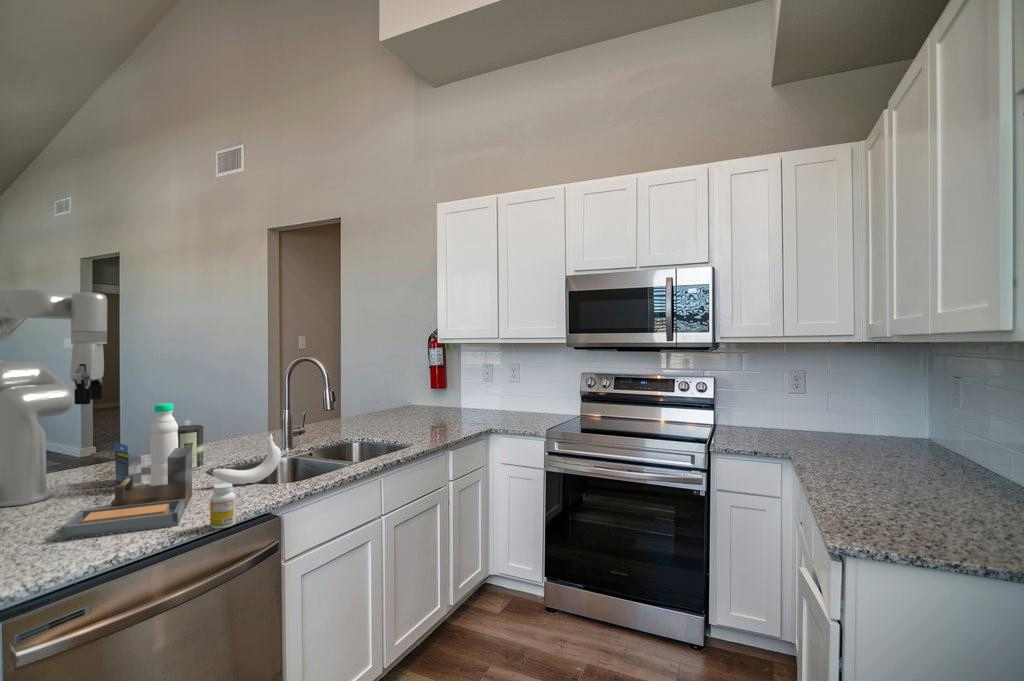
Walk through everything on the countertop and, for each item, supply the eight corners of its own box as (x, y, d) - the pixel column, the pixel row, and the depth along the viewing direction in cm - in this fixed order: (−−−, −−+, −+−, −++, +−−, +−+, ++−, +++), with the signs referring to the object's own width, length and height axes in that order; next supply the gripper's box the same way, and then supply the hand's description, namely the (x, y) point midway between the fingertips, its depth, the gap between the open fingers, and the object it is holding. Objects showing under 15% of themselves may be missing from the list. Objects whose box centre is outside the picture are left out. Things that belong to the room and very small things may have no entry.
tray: (61, 540, 115) (61, 527, 115) (79, 522, 126) (79, 510, 126) (177, 525, 124) (177, 513, 124) (185, 509, 135) (185, 498, 135)
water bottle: (164, 489, 153) (163, 405, 152) (144, 488, 154) (144, 404, 154) (184, 482, 160) (183, 402, 159) (164, 481, 161) (164, 401, 161)
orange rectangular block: (82, 529, 119) (82, 520, 119) (90, 520, 125) (90, 512, 125) (164, 519, 126) (164, 511, 126) (169, 511, 131) (169, 503, 131)
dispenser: (111, 517, 129) (110, 462, 129) (123, 503, 140) (123, 452, 140) (185, 508, 136) (185, 456, 136) (192, 495, 147) (191, 446, 147)
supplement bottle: (217, 521, 127) (216, 482, 127) (239, 520, 128) (239, 481, 128) (205, 529, 122) (205, 488, 122) (229, 528, 123) (229, 488, 122)
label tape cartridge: (142, 482, 160) (141, 443, 160) (127, 485, 156) (127, 445, 156) (128, 478, 164) (128, 439, 164) (114, 481, 161) (114, 442, 161)
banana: (211, 487, 155) (211, 438, 155) (278, 476, 167) (278, 431, 167) (214, 491, 152) (214, 441, 151) (282, 479, 163) (282, 433, 163)
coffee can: (191, 463, 183) (190, 424, 183) (210, 466, 179) (210, 426, 179) (161, 470, 174) (161, 428, 173) (181, 474, 169) (180, 431, 169)
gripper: (83, 337, 145) (82, 398, 145) (58, 338, 129) (58, 406, 130) (115, 337, 148) (115, 397, 148) (96, 339, 132) (95, 405, 133)
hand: (88, 401), depth 139 cm, fingers open, 9 cm apart
